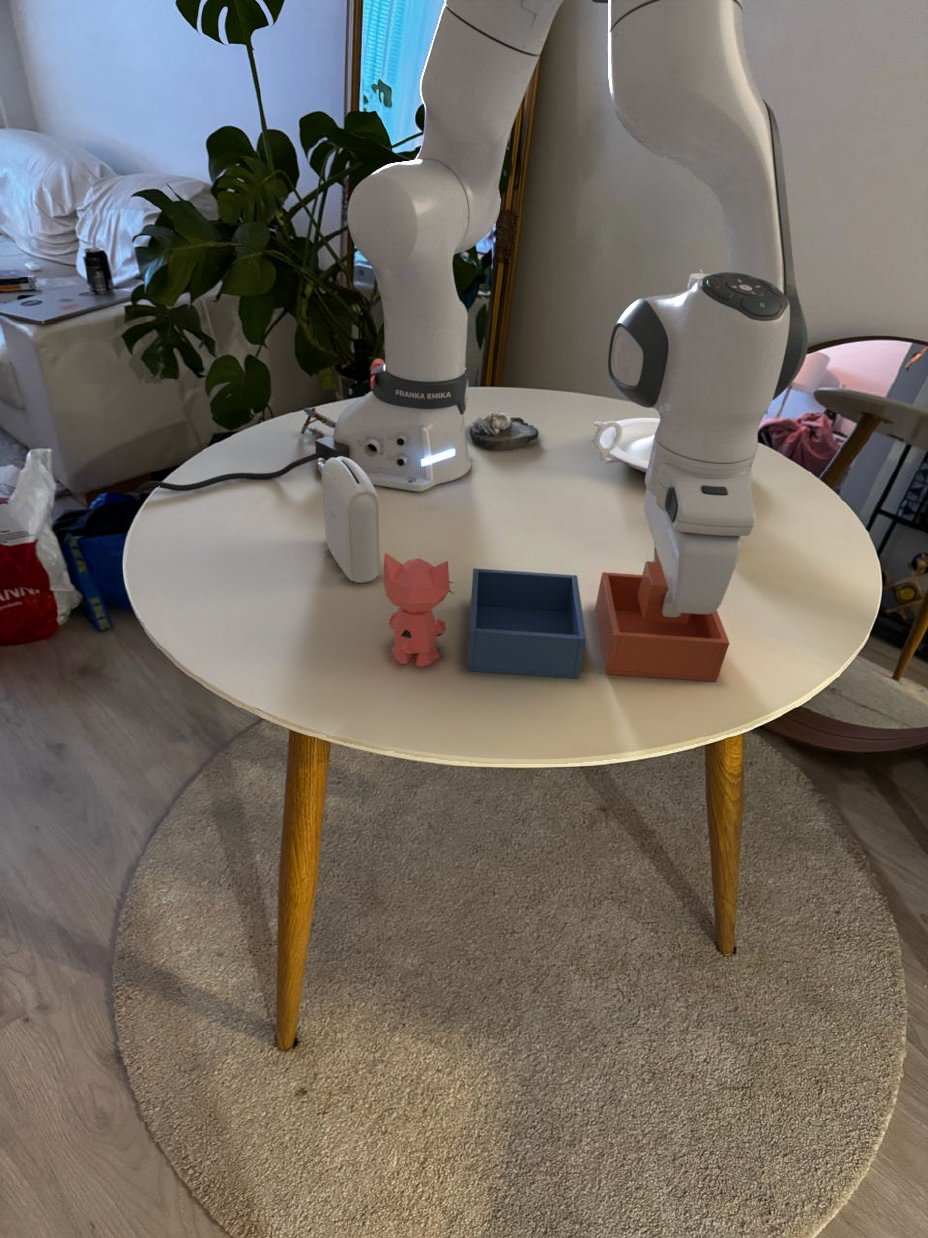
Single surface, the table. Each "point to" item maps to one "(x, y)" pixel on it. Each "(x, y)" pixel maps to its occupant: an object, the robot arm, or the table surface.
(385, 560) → the cat figurine
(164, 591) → the table surface
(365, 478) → the photo printer
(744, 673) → the table surface
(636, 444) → the candlestick
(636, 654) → the terracotta bin
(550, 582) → the slate bin
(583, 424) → the table surface
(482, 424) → the shell on grey dish
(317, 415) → the wooden post with brackets
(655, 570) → the terracotta block
